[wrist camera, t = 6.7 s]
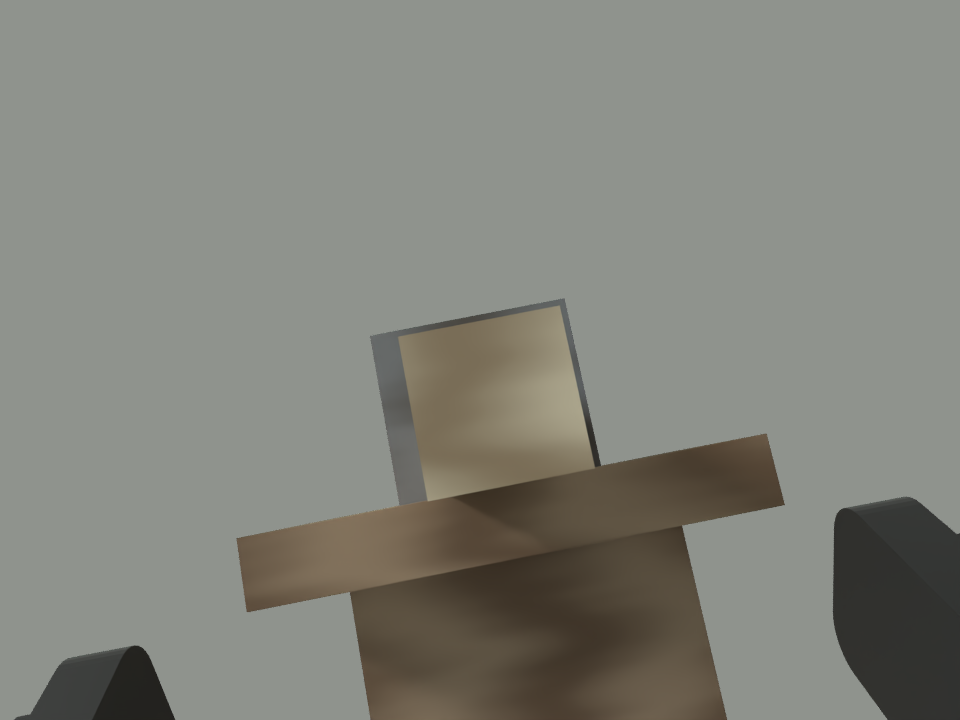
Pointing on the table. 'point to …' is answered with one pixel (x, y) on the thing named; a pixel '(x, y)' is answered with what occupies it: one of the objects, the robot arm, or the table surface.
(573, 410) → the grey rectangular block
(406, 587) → the walnut stand
